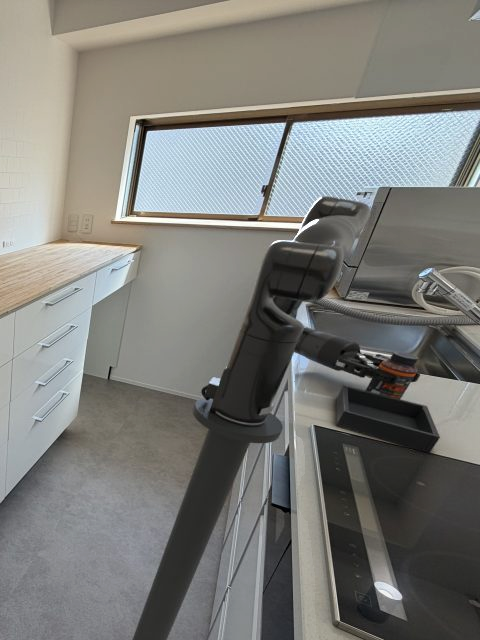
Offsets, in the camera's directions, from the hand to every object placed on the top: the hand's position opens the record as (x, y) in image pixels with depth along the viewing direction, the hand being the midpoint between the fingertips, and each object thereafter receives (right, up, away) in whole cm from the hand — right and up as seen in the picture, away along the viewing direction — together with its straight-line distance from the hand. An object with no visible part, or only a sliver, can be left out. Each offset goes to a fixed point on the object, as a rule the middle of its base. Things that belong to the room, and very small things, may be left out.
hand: (407, 379), depth 89 cm
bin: (-10, -9, -4) cm, 14 cm away
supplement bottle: (-1, -5, +5) cm, 7 cm away
